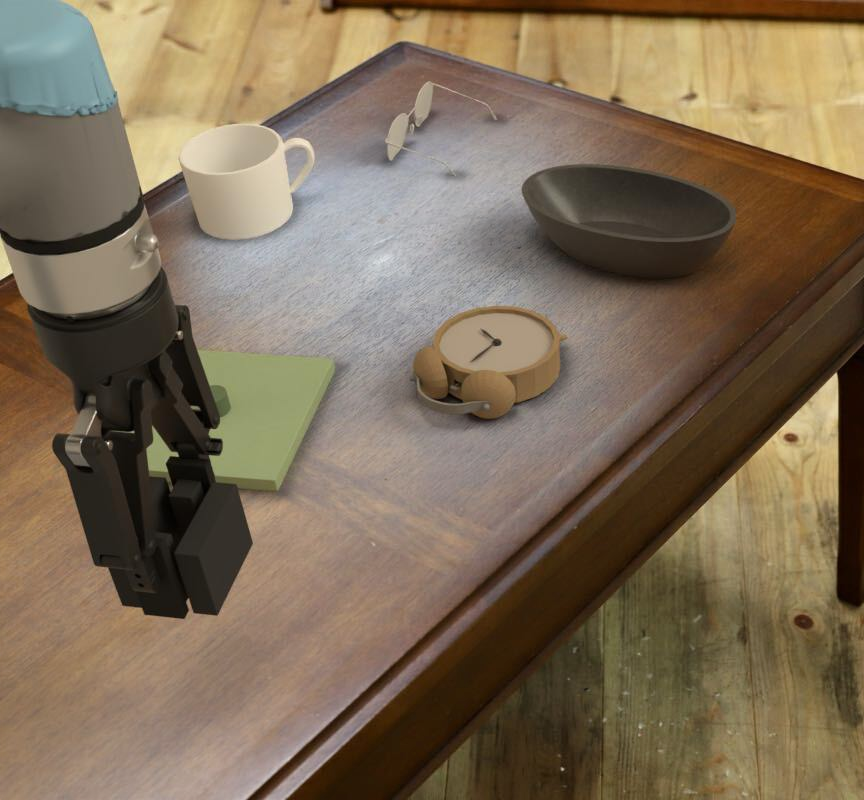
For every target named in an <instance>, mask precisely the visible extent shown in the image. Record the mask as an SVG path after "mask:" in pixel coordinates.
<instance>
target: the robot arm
mask: <svg viewBox="0 0 864 800" xmlns="http://www.w3.org/2000/svg"><path fill="white" fill-rule="evenodd" d="M128 137H129V136H128V134H127V130H126V126H125V123H124V119H123V116H122V110H121V108H120V104H119V94H118V91H117V90H115V87H114V84H113V82H112V80H111V76H110V73H109V71H108V67H107V65H106V62H105V59H104V55H103V53H102V50H101V48H100V44H99V41H98V38H97V36H96V33H95V30H94V27H93V24H92V22H91V21H90V19H89V18H88V16H87V17H86V15H84V13H82V12H81V11H80V10H79V9H77V7H74V6H73V5H71V4H69V3H68V2H65V1H62V0H0V239H1V242H2V245H3V249H4V251H5V254H6V258H7V259H8V260H7V261H8V262H9V265H10V268H11V271H12V274H13V277H14V280H15V282H16V285H17V288H18V291H19V294H20V295H21V297H22V298H23V299H24V301H25V302H26V303H27V304H26V307H27V312H28V315H29V318H30V320H31V324H32V327H33V329H34V331H35V334H36V336H37V339H38V342H39V345H40V347H41V351H42V352H43V355H44V356H45V358H46V360H47V361H48V362H49V363H50V364H51V365H52V366H54V367H55V368H56V369H58V370H59V371H60V372H61V373H63V375H65V376H66V377H67V378H68V379H69V380H70V381H71V385H72V392H73V406H74V410H75V411H76V413H77V414H78V416H77V417H76V420H75V423H74V425H73V427H72V430H71V432H70V433H61V432H60V433H59V432H58V433H56V434H55V435H54V436H53V439H52V444H51V449H52V452H53V454H54V456H55V457H56V458H57V460H58V461H59V462H60V464H61V466H62V467H63V468H64V469H65V473H66V475H67V479H68V482H69V485H70V488H71V492H72V495H73V499H74V502H75V505H76V509H77V512H78V515H79V518H80V522H81V527H82V528H83V529H82V530H83V532H84V535H85V539H86V543H87V545H88V549H89V552H90V556H91V559H92V562H93V564H94V566H95V567H98V568H107V569H108V568H117V569H125V571H126V574H127V576H128V579H129V581H130V585H131V588H132V589H133V590H134V591H136V593H137V596H138V599H139V601H140V604H141V607H142V608H141V609H142V612H143V615H144V616H150V617H151V616H152V617H159V618H161V617H162V618H169V619H170V618H171V619H178V620H179V619H180V620H185V619H186V617H187V615H188V613H189V611H190V609H189V606H188V603H187V602H186V600H185V597H184V594H183V591H182V588H181V585H180V582H179V579H178V576H177V573H176V570H175V567H174V564H173V561H172V558H171V554H170V551H169V548H168V545H167V542H166V539H165V538H156V535H155V525H154V516H153V506H152V497H151V487H150V478H149V468H148V459H147V448H148V447H149V446H150V445H151V444H152V443H153V430H152V426H153V427H154V428H155V430H156V431H157V433H158V434H159V435H160V437H161V438H162V440H163V441H164V442H165V444H166V445H167V447H168V448H169V449H170V451H171V452H178V455H179V457H177V456H170V457H169V459H168V460H167V462H166V467H167V470H168V473H169V476H170V479H171V482H172V483H171V485H172V488H173V487H174V485H175V484H176V482H177V480H178V479H185V480H196V481H201V483H202V487H203V490H204V493H205V496H206V494H207V492H208V490H209V488H210V487H211V485H212V483H213V482H216V480H215V475H214V471H213V468H212V466H211V461H210V458H209V455H212V456H220V454H221V453H222V449H223V441H222V439H219V438H211V437H210V436H209V431H210V429H217V428H218V426H219V424H220V415H219V412H218V409H217V406H216V403H215V400H214V397H213V394H212V391H211V388H210V385H209V383H208V380H207V377H206V374H205V371H204V368H203V365H202V362H201V359H200V357H199V354H198V351H197V350H198V349H197V345H196V343H195V340H194V337H193V336H194V335H193V329H192V321H191V313H190V308H189V307H188V305H185V304H175V301H174V298H173V297H174V296H173V294H172V290H171V287H170V283H169V280H168V276H167V273H166V271H165V269H164V268H163V266H162V258H161V255H160V251H159V246H160V243H159V239H158V237H157V235H155V234H154V231H153V228H152V224H151V221H150V216H149V213H148V210H147V208H146V204H145V197H144V193H143V190H142V187H141V182H140V179H139V175H138V172H137V168H136V163H135V160H134V157H133V153H132V149H131V145H130V142H129V138H128ZM190 406H198V407H199V408H200V410H198V409H192V408H191V407H190ZM117 431H122V432H117ZM131 431H134V433H129V432H131Z"/></svg>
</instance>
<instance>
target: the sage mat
mask: <svg viewBox="0 0 864 800" xmlns="http://www.w3.org/2000/svg"><path fill="white" fill-rule="evenodd" d="M197 351H198V354H199V357H200V359H201V362H202V365H203V368H204V371H205V374H206V377H207V380H208V383H209V385H210V388H211V391H212V394H213V397H214V400H215V403H216V406H217V409H218V412H219V415H220V424H219V426H218V428H217V429H210V431H209V436H210V437H211V438H219V439H222V441H223V449H222V453H221V454H220V456H212V455H209V458H210V461H211V466H212V468H213V471H214V475H215V480H216V482H219V483H230V484H237V487H238V489H243V490H256V491H257V490H258V491H266V492H267V491H268V492H278V491H279V490H280V488H281V485H282V484H283V482H284V479H285V477H286V475H287V473H288V471H289V469H290V467H291V465H292V462H293V461H294V458H295V456H296V453H297V452H298V450H299V448H300V446H301V443H302V441H303V439H304V437H305V435H306V432H307V431H308V429H309V427H310V424H311V423H312V421H313V418H314V416H315V414H316V412H317V410H318V408H319V405H320V403H321V401H322V400H323V397H324V395H325V393H326V391H327V389H328V386H329V384H330V382H331V380H332V378H333V376H334V373H336V366H335V360H334V358H327V357H312V356H311V357H310V356H297V355H284V354H283V355H281V354H266V353H254V352H253V353H252V352H240V351H239V352H236V351H223V350H208V349H207V350H206V349H197ZM190 407H191V408H192V409H198V410H200V408H199V407H198V406H190ZM152 430H153V443H152V444H151V445H150V446H149V447H148V448H147V459H148V468H149V476H153V477H164V478H166V479H167V482H168V484H169V483H171V484H172V482H171V479H170V476H169V473H168V470H167V467H166V462H167V460H168V459H169V457H170V456H177V457H179V455H178V452H171V451H170V449H169V448H168V447H167V445H166V444H165V442H164V441H163V440H162V438H161V437H160V435H159V434H158V433H157V431H156V430H155V428H154V427H153V426H152ZM117 432H122V431H117ZM129 433H134V431H131V432H129Z"/></svg>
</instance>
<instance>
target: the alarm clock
mask: <svg viewBox="0 0 864 800" xmlns="http://www.w3.org/2000/svg"><path fill="white" fill-rule="evenodd" d="M567 339H568V335H567V334H559V331H558V328H557V326H556V325H555V324H554V323H552V321H551V320H549V318H547V317H546V316H544V315H542V314H540V313H538V312H536V311H534V310H530V309H526V308H522V307H519V306H508V305H489V306H482V307H475V308H472V309H469V310H466V311H462V312H460V313H457V314H456V315H454V316H452V317H450V318H448V319H447V320H445V321H444V322H443V323H442V324H441V325H440V326H439V327H438V328H437V329H436V330H435V333H434V336H433V339H432V346H430V345H428V346H425V347H423V348H422V349H420V350H419V351H418V352H417V353H416V354H415V356H414V359H413V363H412V374H411V375H410V376H409V381H410V382H414V383H415V385H416V391H417V392H416V393H417V398H418V401H419V402H420V403H421V404H422V405H423V406H425V408H428V409H430V410H431V411H434V412H436V413H440V414H446V415H463V414H468V413H469V414H472V415H474V416H477V417H478V418H480V419H486V420H492V419H498V418H500V417H503V416H504V415H506V414H507V413H508V412H510V410H511V409H512V407H513V405H514V404H517V403H521V402H524V401H527V400H529V399H533V398H535V397H538V396H539V395H540V394H542V393H544V392H545V391H547V390H549V389H550V388H551V387H552V386H553V385H554V383H555V382H556V380H557V379H558V378H559V375H560V369H561V357H560V356H561V355H560V353H561V350H560V343H561V342H562V341H565V340H567ZM448 394H450V395H452V396H453V397H456V398H457V399H459V400H462V403H448V402H443V401H438V400H442V399H445V398H446V397H447V396H448Z"/></svg>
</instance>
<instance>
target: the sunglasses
mask: <svg viewBox="0 0 864 800" xmlns="http://www.w3.org/2000/svg"><path fill="white" fill-rule="evenodd" d="M434 86H435V87H438V88H440V89H443V90H446V91H447V92H452V93H454V94H457V95H460V96H462V97H464V98H468V99H470V100H473V101H475V102H477V103H479V104H482V105H484V106H485V107H487V108H488V110H489V112H490V114H491V116H492V117H493V120H494V121H497V120H498V119H497V117H496V114H494V112H493V110H492V109H491V107H490V106H489V104H487V103H485V102H483V101H481V100H478V99H476V98H472V97H470V96H468V95H465V94H462V93H460V92H457V91H455V90H452V89H450V88H448V87H445V86H443V85H440V84H437V83H434V82H432V81H427V82H425V83H424V84H423V85H422V86H421V88H420V90H419V92H418V94H417V96H416V99H415V104H414V107H413V109H412V110H411V111H410V112H409V113H408V114H407V113H404V112H402V113H400V114H399V115H397V116H396V117H395V118H394V120H393V121H392V122H391V124H390V126H389V130H388V133H387V137H386V138H385V141H384V142H385V144H386V154H387V159H388V160H389V161H390V162H392V161H393V160H394V158H395V157H396V155H398V153H399V152H400V151H401V150H405V151H407V152H410V153H413V154H417V155H420V156H422V157H425V158H429V159H431V160H434V161H436V162H439V163H442V164H444V166H446V167H447V168H448V170H449V171H450V173H451V174H452V175H453V176H455V177H456V176H457V175H456V174H455V172H454V171H453V169H452V168H451V166H449V165H448V163H446V162H445V161H443V160H440V159H438V158H436V157H432V156H428V155H425V154H422V153H420V152H418V151H414V150H412V149H409V148H406V147H403V144H404V141H405V138H406V135H407V132H408V131H409V133H408V135H409V137H412V136H413V134H414V131H415V127H418V128H420V127H421V124H423V122H424V121H425V120H427V118H428V116H429V113H430V110H431V106H432V101H433V96H434V95H433V93H434ZM412 113H413V120H414V123H411V124H409V117H410V116H411V115H412ZM408 129H409V130H408Z"/></svg>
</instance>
